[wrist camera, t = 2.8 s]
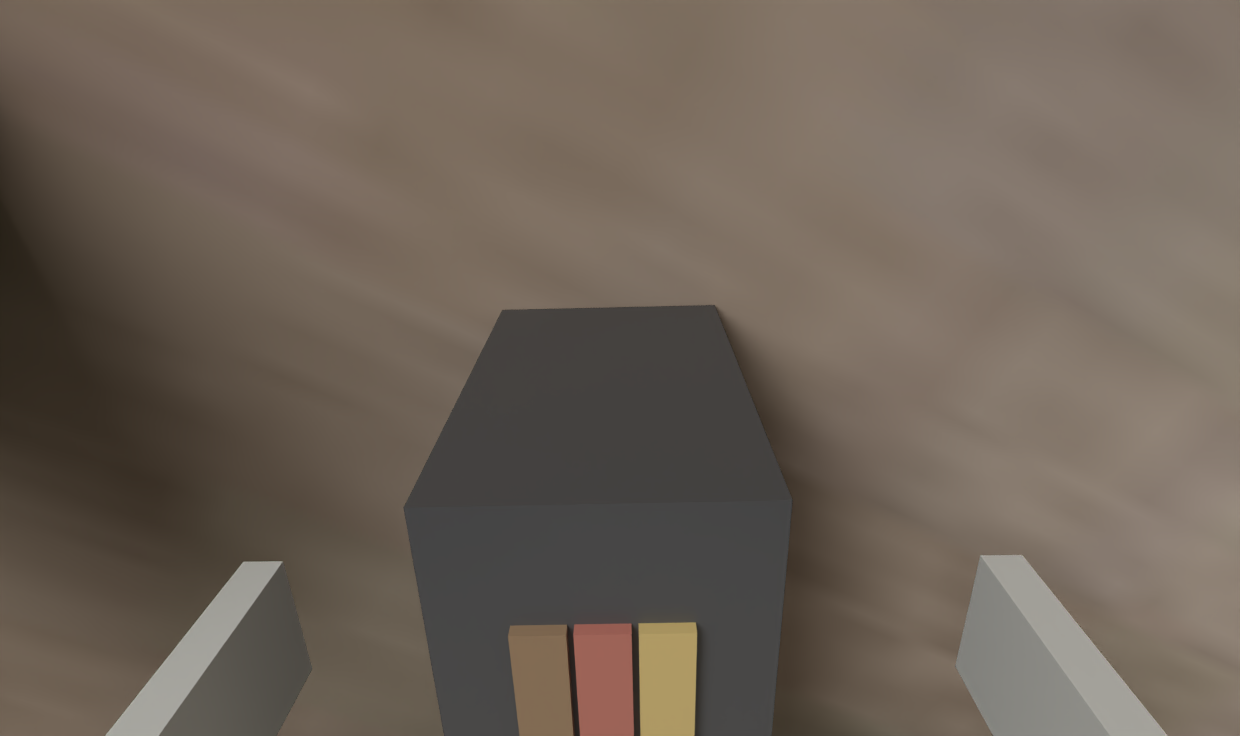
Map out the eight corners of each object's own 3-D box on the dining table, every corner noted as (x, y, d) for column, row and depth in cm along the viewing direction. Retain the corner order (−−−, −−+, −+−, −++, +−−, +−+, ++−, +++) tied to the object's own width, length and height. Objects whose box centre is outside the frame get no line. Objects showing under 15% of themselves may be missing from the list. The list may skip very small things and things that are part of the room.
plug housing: (531, 607, 20) (475, 937, 12) (502, 309, 16) (398, 516, 9) (705, 604, 20) (757, 934, 12) (714, 305, 16) (796, 509, 9)
